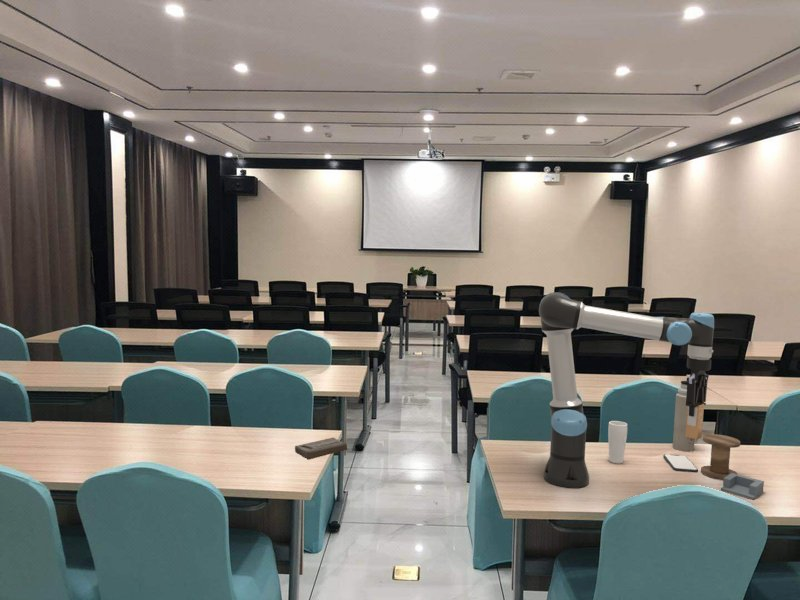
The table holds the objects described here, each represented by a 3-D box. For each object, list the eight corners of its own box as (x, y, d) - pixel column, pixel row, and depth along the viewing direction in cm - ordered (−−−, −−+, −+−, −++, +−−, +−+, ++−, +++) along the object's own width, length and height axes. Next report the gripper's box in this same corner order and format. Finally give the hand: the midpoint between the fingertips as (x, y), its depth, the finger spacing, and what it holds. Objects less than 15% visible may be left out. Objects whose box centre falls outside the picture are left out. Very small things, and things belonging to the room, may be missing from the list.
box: (347, 451, 232) (347, 443, 232) (307, 460, 222) (307, 452, 222) (333, 444, 241) (333, 436, 241) (294, 453, 230) (294, 445, 230)
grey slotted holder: (753, 499, 196) (754, 488, 196) (720, 490, 203) (721, 479, 203) (763, 492, 203) (763, 481, 203) (731, 483, 210) (731, 472, 210)
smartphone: (699, 474, 220) (686, 459, 236) (699, 470, 220) (686, 455, 236) (673, 472, 222) (662, 457, 237) (673, 468, 221) (662, 453, 237)
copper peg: (697, 439, 207) (699, 405, 207) (685, 436, 210) (687, 402, 209) (701, 437, 210) (704, 403, 209) (689, 434, 213) (692, 401, 212)
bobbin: (731, 483, 210) (733, 446, 209) (695, 473, 219) (697, 438, 218) (742, 475, 219) (745, 439, 218) (707, 466, 227) (710, 432, 226)
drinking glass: (626, 465, 226) (629, 426, 225) (607, 463, 227) (610, 424, 226) (623, 459, 232) (626, 421, 231) (605, 458, 234) (607, 420, 233)
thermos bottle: (698, 451, 246) (702, 383, 244) (682, 452, 243) (686, 384, 241) (684, 444, 253) (688, 379, 251) (668, 446, 251) (672, 379, 249)
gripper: (701, 361, 200) (695, 430, 201) (719, 357, 211) (714, 422, 213) (678, 358, 205) (673, 425, 207) (697, 354, 217) (692, 417, 219)
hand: (694, 423), depth 210 cm, fingers closed on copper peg, 4 cm apart
